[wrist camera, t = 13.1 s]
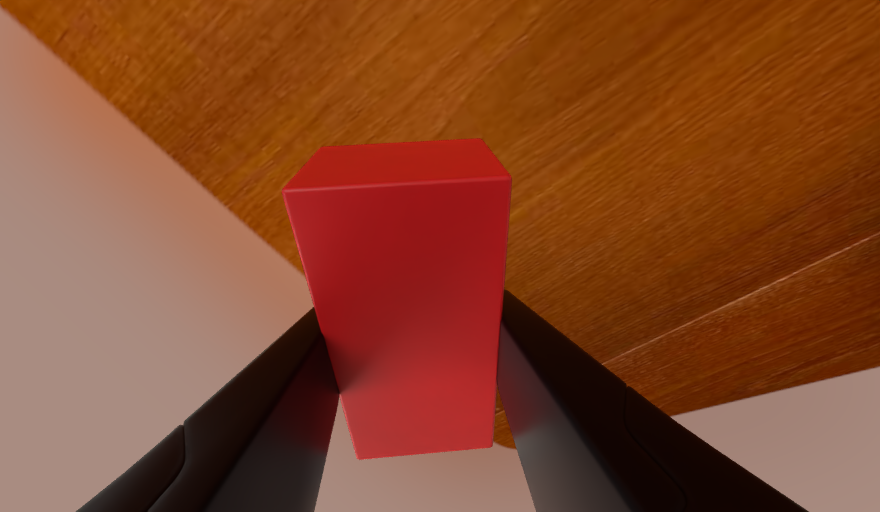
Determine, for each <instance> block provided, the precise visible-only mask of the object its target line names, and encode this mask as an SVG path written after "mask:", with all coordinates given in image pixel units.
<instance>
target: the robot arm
mask: <svg viewBox="0 0 880 512" xmlns="http://www.w3.org/2000/svg"><path fill="white" fill-rule="evenodd" d="M496 380H497V385H498V389H499V393H500V396H501V400H502V403H503V406H504V409H505V413H506V416H507V419H508V422H509V426H510V429H511V432H512V435H513V438H514V442H515V445H516V448H517V451H518V454H519V458H520V461H521V464H522V467H523V470H524V474H525V477H526V480H527V483H528V486H529V489H530V493H531V496H532V499H533V503H534V506H535V509H536V512H808V511H807V510H806V509H804V508H803V507H801V506H800V505H798V504H797V503H795V502H794V501H792V500H791V499H789V498H788V497H786V496H785V495H783V494H781V493H780V492H779V491H777V490H776V489H774V488H773V487H771V486H770V485H768V484H767V483H765V482H764V481H762V480H761V479H759V478H758V477H756V476H755V475H753V474H752V473H750V472H749V471H747V470H746V469H744V468H743V467H742V466H740V465H738V464H737V463H736V462H734V461H732V460H731V459H730V458H728V457H727V456H725V455H723V454H722V453H721V452H719V451H718V450H716V449H715V448H713V447H712V446H710V445H709V444H708V443H706V442H705V441H703V440H702V439H700V438H699V437H697V436H696V435H695V434H693V433H692V432H690V431H689V430H687V429H686V428H685V427H683V426H682V425H680V424H678V423H677V422H676V421H675V420H673V419H672V418H671V417H669V416H668V415H667V414H665V413H664V412H663V411H661V410H660V409H659V408H657V407H656V406H655V405H653V404H652V403H651V402H649V401H648V400H647V399H646V398H644V397H643V396H642V395H640V394H639V393H638V392H637V391H635V390H634V389H633V388H631V387H630V386H628V387H627V388H626V386H627V385H626V383H625V382H624V381H622V380H621V379H620V378H618V377H617V376H616V375H615V374H613V373H612V372H611V371H610V370H608V369H607V368H606V367H604V366H603V365H602V364H601V363H599V362H598V361H597V360H595V359H594V358H593V357H592V356H590V355H589V354H588V353H587V352H585V351H584V350H583V349H581V348H580V347H579V346H578V345H576V344H575V343H574V342H572V341H571V340H570V339H569V338H567V337H566V336H565V335H563V334H562V333H561V332H560V331H558V330H557V329H556V328H555V327H553V326H552V325H551V324H549V323H548V322H547V321H546V320H544V319H543V318H542V317H540V316H539V315H538V314H537V313H535V312H534V311H533V310H532V309H530V308H529V307H528V306H526V305H525V304H524V303H523V302H521V301H520V300H519V299H517V298H516V297H515V296H514V295H512V294H511V293H510V292H509V291H507V290H505V289H504V296H503V310H502V319H501V321H500V333H499V348H498V362H497V377H496ZM338 400H339V389H338V386H337V382H336V379H335V375H334V371H333V368H332V364H331V361H330V357H329V354H328V350H327V347H326V343H325V339H324V336H323V334H322V332H321V329H320V326H319V322H318V319H317V315H316V312H315V308H314V307H313V308H312V309H311V310H310V311H309V312H308V313H306V314H305V315H304V316H303V317H302V318H301V319H300V320H299V321H297V322H296V323H295V324H294V325H293V326H292V327H290V328H289V329H288V330H287V331H286V332H285V333H284V334H283V335H282V336H280V337H279V338H278V339H277V340H276V341H275V342H273V343H272V344H271V345H270V346H269V347H268V348H267V349H265V350H264V351H263V352H262V353H261V354H260V355H259V356H258V357H256V358H255V359H254V360H253V361H252V362H251V363H250V364H248V365H247V367H245V368H244V369H243V370H242V371H241V372H239V373H238V374H237V375H236V376H235V377H234V378H233V379H231V380H230V381H229V382H228V383H227V384H226V385H225V386H224V387H222V388H221V389H220V390H219V391H218V392H217V393H216V394H214V395H213V396H212V397H211V398H210V399H209V400H208V401H206V402H205V403H204V404H203V405H202V406H201V407H200V408H199V409H198V410H196V411H195V412H194V413H193V414H192V415H191V416H189V417H188V418H187V419H186V420H185V421H184V425H179V426H178V427H177V428H176V429H174V430H173V431H172V432H171V433H170V434H169V435H168V436H167V437H165V438H164V439H163V440H162V441H161V442H160V443H159V444H157V445H156V446H155V447H154V448H153V449H152V450H150V451H149V452H148V453H147V454H146V455H144V457H142V458H141V459H140V460H139V461H137V462H136V463H135V464H134V465H133V466H132V467H130V468H129V469H128V470H127V471H126V472H125V473H123V474H122V475H121V476H120V477H119V478H117V479H116V480H115V481H113V482H112V483H111V484H110V485H108V486H107V487H106V488H105V489H103V490H102V491H101V492H100V493H99V494H97V495H96V496H95V497H94V498H92V499H91V500H90V501H89V502H87V503H86V504H85V505H84V506H82V507H81V508H80V509H79V510H77V511H76V512H314V510H315V505H316V501H317V497H318V492H319V487H320V483H321V479H322V474H323V470H324V465H325V461H326V456H327V452H328V447H329V443H330V438H331V434H332V429H333V425H334V421H335V416H336V412H337V406H338Z"/></svg>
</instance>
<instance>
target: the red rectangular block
mask: <svg viewBox="0 0 880 512" xmlns="http://www.w3.org/2000/svg"><path fill="white" fill-rule="evenodd" d="M511 186H512V178H511V175H510V174H509V173H508V172H507V170H506V169H505V168H504V167H503V165H502V164H501V163H500V161H499V160H498V159H497V158H496V156H495V155H494V154H493V153H492V151H491V150H490V149H489V148H488V146H487V145H486V144H485V142H484V141H483V140H482V139H480V138H477V139H458V140H439V141H420V142H401V143H383V144H364V145H345V146H326V147H321V148H320V149H319V150H318V151H317V152H316V153H315V154H314V155H313V156H312V157H311V158H310V159H309V161H308V162H307V163H306V164H305V165H304V166H303V167H302V168H301V169H300V170H299V171H298V173H297V174H296V175H295V176H294V177H293V178H292V179H291V180H290V181H289V182H288V183H287V185H286V186H285V187H284V188H283V189H282V195H283V199H284V202H285V206H286V209H287V213H288V216H289V220H290V223H291V227H292V230H293V234H294V237H295V241H296V245H297V248H298V252H299V255H300V259H301V262H302V266H303V269H304V273H305V276H306V280H307V283H308V287H309V291H310V294H311V298H312V301H313V304H314V308H315V312H316V315H317V319H318V322H319V326H320V329H321V332H322V334H323V336H324V339H325V343H326V347H327V350H328V354H329V357H330V361H331V364H332V368H333V371H334V375H335V379H336V382H337V386H338V389H339V397H340V400H341V404H342V407H343V411H344V414H345V418H346V421H347V425H348V429H349V432H350V436H351V439H352V443H353V446H354V450H355V453H356V457H357V459H359V460H361V459H372V458H383V457H393V456H404V455H414V454H426V453H437V452H447V451H459V450H469V449H480V448H490V447H492V445H493V434H494V420H495V407H496V393H497V380H496V377H497V362H498V348H499V333H500V321H501V319H502V310H503V296H504V282H505V269H506V255H507V241H508V227H509V213H510V200H511Z"/></svg>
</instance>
